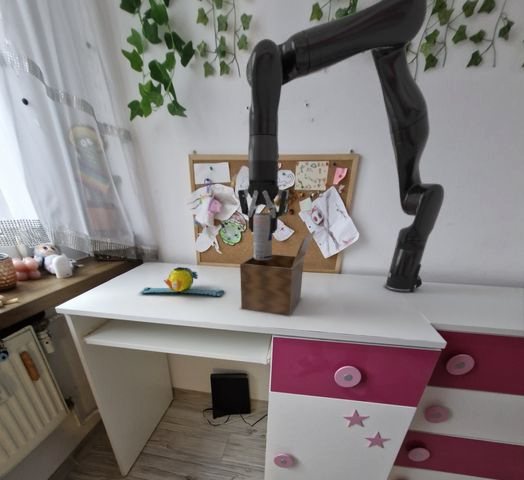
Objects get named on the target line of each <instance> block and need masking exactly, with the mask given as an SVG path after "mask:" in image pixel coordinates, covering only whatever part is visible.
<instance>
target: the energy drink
mask: <svg viewBox="0 0 524 480" xmlns="http://www.w3.org/2000/svg"><path fill="white" fill-rule="evenodd" d="M271 218H272V216H271V213H270V212H269V213H267V212H258V213H257V212H256V213H255V214H254V217H253V232H252V233H253V235H252V236H253V256H254V259H255V260H259V261H267V260H270V259H271V258H272V254H273V233H271Z"/></svg>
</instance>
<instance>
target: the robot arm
mask: <svg viewBox="0 0 524 480" xmlns="http://www.w3.org/2000/svg"><path fill="white" fill-rule="evenodd" d="M427 11H428V0H379V1H378V2H375V3H374V4H372V5H369V6H368V7H365V8H363V9H361V10H358V11H356V12H353V13H351V14H348V15H345V16H341V17H339V18H336V19H332V20H328V21H326V22H323V23H320V24H316V25H313V26H311V27H308V28H305V29H302V30H300V31H296V32H294V33H293V34H292V35H291V36H289V37H288V38H287V39H286V40H285V41H284V42H282V43H279V44H277V43H276V42H275V41H274V40H272V39H270V38H263V39H261V40H259V41H258V42H257V43H256V44H255V45H254V47H253V49H252V50H251V52H250V56H249V57H248V60H247V63H246V67H245V77H246V81H247V84H248V86H249V87H250V89H251V91H250V93H251V96H250V97H251V99H250V100H251V101H250V102H251V103H250V107H249V112H248V146H247V147H248V148H247V154H248V155H247V157H248V185H247V188H245V189H239V190H238V191H237V196H238V200H239V207H240V210H241V214H242V215H244V216H246V217H247V218H248V229H249V230H250V233H253V217H254V214H256V213H257V210H258V208H259V206H261V205H262V206H267V209H268V210H269V214H271V216H272V218H271V233H272V234H275V233H276V231H277V230H278V221H279V217H281V216H284V215H285V214H286V208H287V205H288V200H289V195H290V192H289V190H287V189H286V190H285V189H281V188H280V187H279V185H278V184H279V183H278V182H279V181H278V179H279V159H280V155H279V107H280V102H281V101H280V100H281V94H282V86H284V85H287V84H289V83H291V82H292V81H295V80H298V79H301V78H305V77H309V76H311V75H313V74H316V73H319V72H321V71H325V70H326V69H329V68H331V67H333V66H335V65H337V64H339V63H342V62H344V61H346V60H348V59H350V58H353V57H355V56H357V55H360V54H363V53H365V52H368V51H370V54H371V57H372V61H373V64H374V67H375V70H376V73H377V77H378V80H379V84H380V88H381V93H382V98H383V104H384V108H385V109H384V110H385V113H386V118H387V125H388V131H389V135H390V142H391V145H392V149H393V155H394V160H395V167H396V172H397V180H398V192H399V203H400V209H401V211H402V212H403V214H405V215H407V216H412V217H414V218H413V221H412V223H411V224H410V225H408V226H406V227H402V228H400V230H399V231H398V234H397V239H396V243H395V247H394V250H393V254H392V258H391V263H390V265H389V266H390V267H389V271H388V272H387V279H386V282H385V285H384V287H385V288H386V289H388V290H389V291H390V290H391V291H394V292H399V293H407V292H408V293H409V292H411V293H413V292H414V291H415V288H416V289H417V288H419V287H421V286H422V284H423V282H422V278H421V276H420V275H419V274H420V271H421V268H422V264H421V262H422V259H423V256H424V254H425V253H424V252H425V250H426V246H427V243H428V240H429V238H430V235H431V233H432V232H433V230H434V229H435V225H436V222H437V219H438V216H439V214H440V212H441V210H442V207H443V203H444V199H445V189H444V186H443V185H442V184H440V183H434V182H433V183H431V182H429V183H426V182H425V183H423V182H422V178H421V173H420V163H421V159H422V157H423V154H424V151H425V149H426V146H427V143H428V140H429V135H430V131H431V130H430V119H429V110H428V109H429V108H428V104H427V100H426V97H425V96H424V94H423V91H422V90H421V87H419V84H418V83H417V82H416V80H415V78H414V76H413V75H412V71H411V70H410V66H409V62H408V57H407V56H408V55H407V50H406V46H408V45H409V44H410V43H411V42H413V40H414V39H415V38H416V37H417V36H418V34H419V33H420V31H421V29H422V27H423V25H424V23H425V20H426V16H427ZM277 196H278V198H279V200H280V201H279V207H278V209H277V204H276V202H275V201H276V198H277ZM248 197H250V199H251V201H250V203H248Z"/></svg>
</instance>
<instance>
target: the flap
mask: <svg viewBox="0 0 524 480" xmlns="http://www.w3.org/2000/svg"><path fill="white" fill-rule="evenodd" d="M315 233H316V231H315V230H313V231H311V233H309V234H308V235H306V236H305V237H304V238H303V239H302V241H301V244H300V246H299V247H298V250H297V253H296V255H295V256H296V257H295V260H294V262H293V264H292V266H294V265H295V264H296V263H297V262H298V261H299V260H300V259H301V258H302V257H304V256H305V255H306V253H307V251H308V249H309V247H310V244H311V242H312V240H313V237H314V236H315Z"/></svg>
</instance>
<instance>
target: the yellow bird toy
mask: <svg viewBox="0 0 524 480" xmlns="http://www.w3.org/2000/svg"><path fill="white" fill-rule="evenodd" d="M198 276H199V275H198V272H197V271H193V270H192V269H191V268H190V267H185V266H184V267H181V266H177V267H176V268H173V270H172V271H170V273H169V275H168V278H167V279H163V282H164V283H165V284H166V285H167V286H168V287H144V288H143V290H141V291H140V292H139V294H148V293H185V294H197V295H198V294H200V295H209V296H214V297H215V296H217V297H220V296H221V295H223V293H224V292H225V291H224V290H223V289H202V288H191V287H192V285H193V284H194V280H197V279H198V278H199V277H198Z"/></svg>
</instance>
